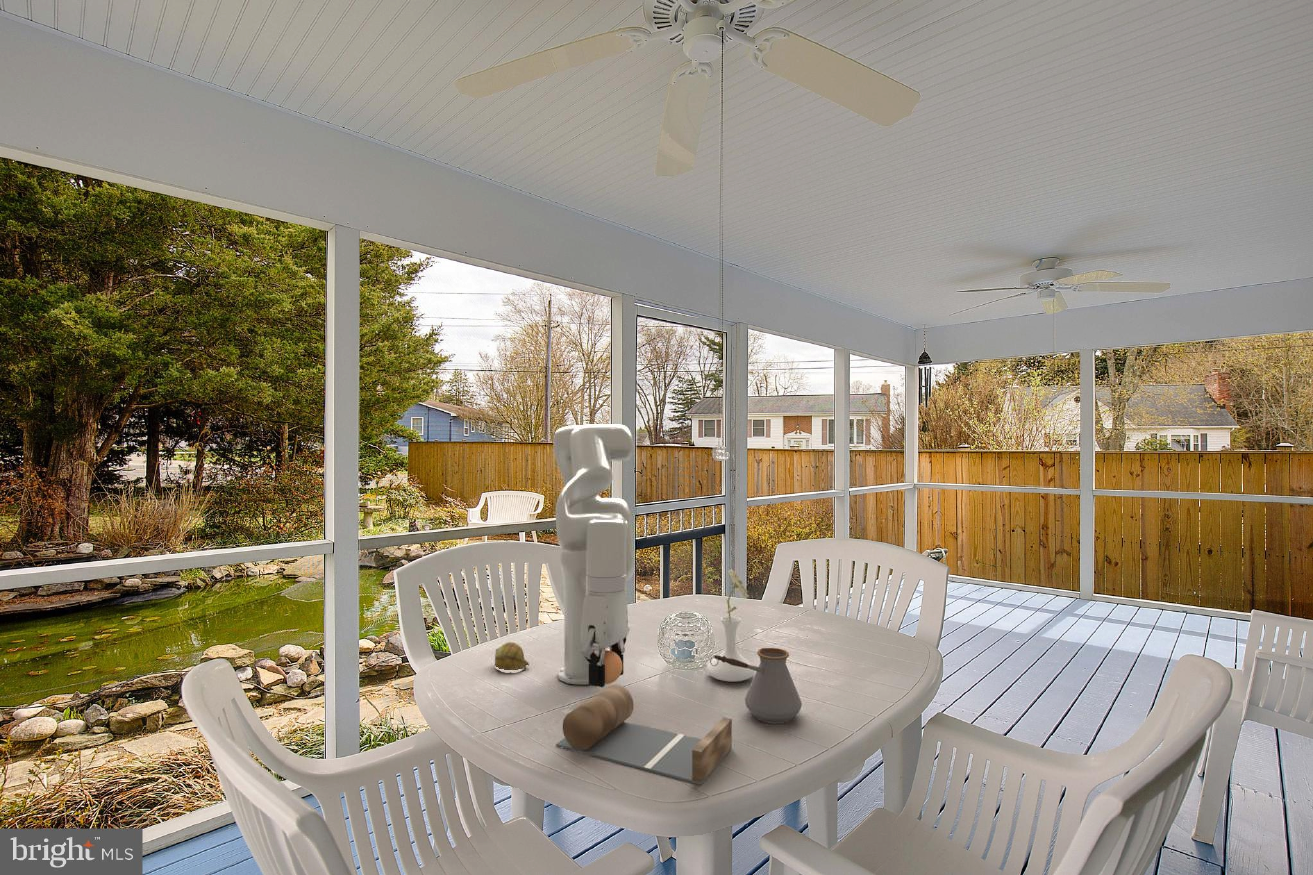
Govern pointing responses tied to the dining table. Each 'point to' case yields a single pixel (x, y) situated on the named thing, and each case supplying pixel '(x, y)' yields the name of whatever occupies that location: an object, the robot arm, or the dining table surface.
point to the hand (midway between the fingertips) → (606, 678)
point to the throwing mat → (646, 750)
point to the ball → (611, 666)
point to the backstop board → (711, 749)
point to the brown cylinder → (597, 717)
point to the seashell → (510, 657)
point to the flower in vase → (731, 644)
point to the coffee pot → (770, 687)
